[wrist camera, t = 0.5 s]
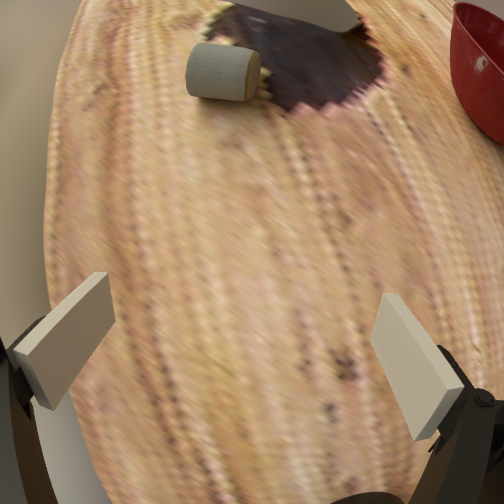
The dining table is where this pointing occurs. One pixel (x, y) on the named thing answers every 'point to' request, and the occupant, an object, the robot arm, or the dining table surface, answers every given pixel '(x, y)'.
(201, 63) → the ceramic mug
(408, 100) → the dining table surface
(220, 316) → the dining table surface
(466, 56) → the mixing bowl
